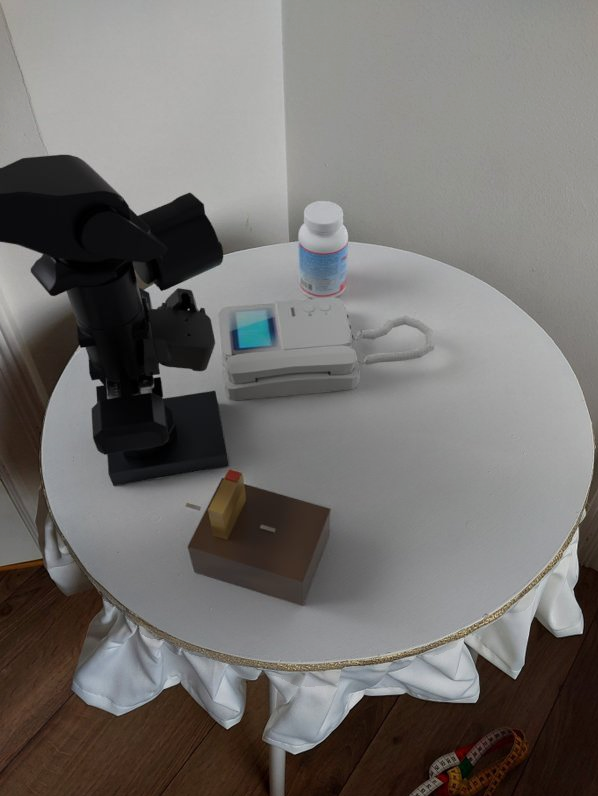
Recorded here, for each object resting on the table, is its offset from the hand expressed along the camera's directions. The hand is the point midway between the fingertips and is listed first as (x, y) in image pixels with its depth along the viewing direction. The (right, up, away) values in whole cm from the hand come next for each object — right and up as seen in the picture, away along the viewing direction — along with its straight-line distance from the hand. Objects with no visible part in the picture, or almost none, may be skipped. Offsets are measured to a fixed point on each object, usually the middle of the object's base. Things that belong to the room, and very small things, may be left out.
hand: (141, 421), depth 74 cm
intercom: (+19, +9, +13) cm, 25 cm away
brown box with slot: (+13, -13, -4) cm, 19 cm away
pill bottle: (+18, +18, +20) cm, 33 cm away
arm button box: (+2, -2, +4) cm, 5 cm away
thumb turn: (+10, -9, -8) cm, 16 cm away
